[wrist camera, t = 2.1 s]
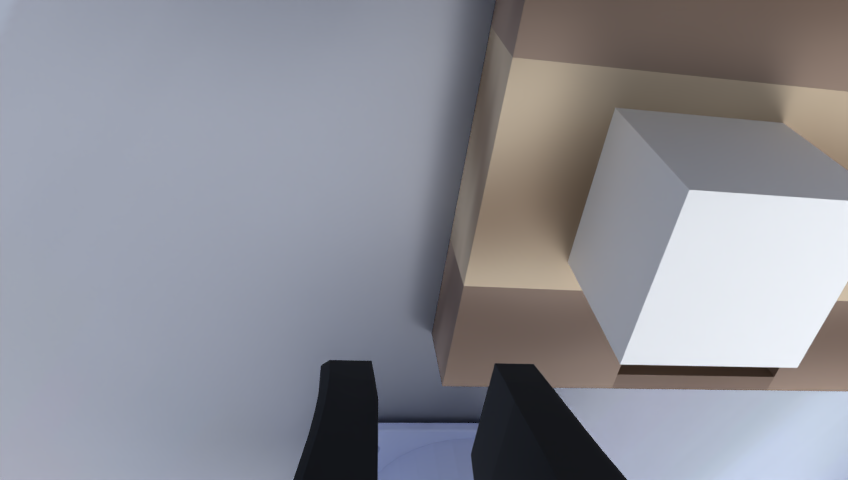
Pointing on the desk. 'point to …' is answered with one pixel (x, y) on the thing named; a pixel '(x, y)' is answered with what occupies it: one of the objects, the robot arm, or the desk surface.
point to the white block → (711, 240)
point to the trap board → (578, 158)
